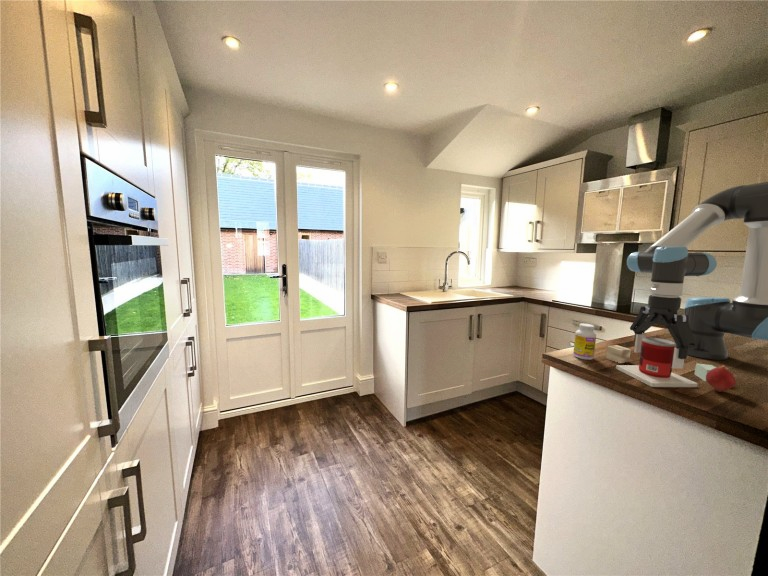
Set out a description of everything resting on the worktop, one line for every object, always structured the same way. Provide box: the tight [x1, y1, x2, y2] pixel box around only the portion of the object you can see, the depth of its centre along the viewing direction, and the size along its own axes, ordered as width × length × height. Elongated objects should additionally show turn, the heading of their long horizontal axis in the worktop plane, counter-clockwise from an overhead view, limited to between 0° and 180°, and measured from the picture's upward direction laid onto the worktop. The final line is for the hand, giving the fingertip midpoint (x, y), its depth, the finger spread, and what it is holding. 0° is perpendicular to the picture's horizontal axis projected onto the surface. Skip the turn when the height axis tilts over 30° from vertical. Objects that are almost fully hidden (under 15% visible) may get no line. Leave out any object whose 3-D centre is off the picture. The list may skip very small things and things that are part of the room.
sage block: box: [694, 363, 717, 383], centre depth 96 cm, size 4×6×4 cm, turn 158°
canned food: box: [638, 336, 675, 378], centre depth 96 cm, size 8×8×11 cm
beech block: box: [605, 344, 632, 364], centre depth 112 cm, size 5×5×5 cm
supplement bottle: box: [572, 323, 597, 361], centre depth 114 cm, size 7×7×13 cm
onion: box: [706, 365, 737, 392], centre depth 88 cm, size 6×6×8 cm
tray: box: [615, 364, 699, 388], centre depth 97 cm, size 14×14×1 cm
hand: (656, 359), depth 97 cm, fingers open, 13 cm apart
